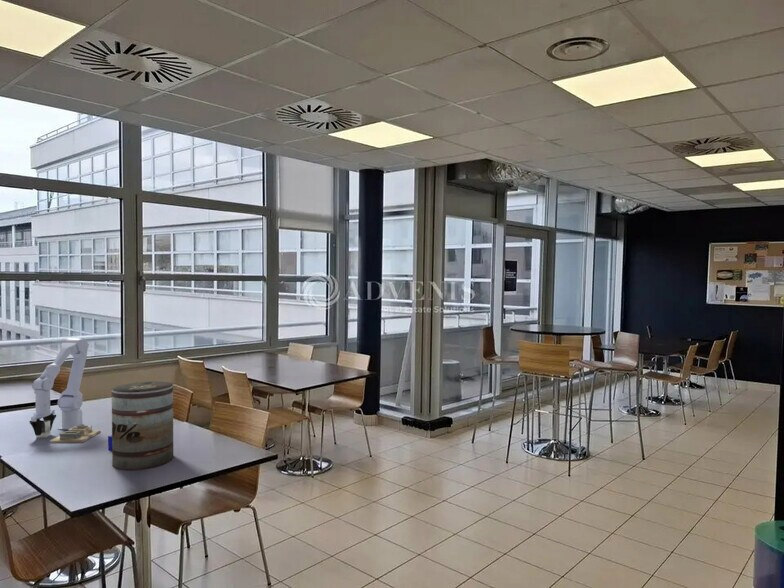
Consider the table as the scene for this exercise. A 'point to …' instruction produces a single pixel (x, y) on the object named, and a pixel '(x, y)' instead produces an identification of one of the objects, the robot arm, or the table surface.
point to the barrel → (142, 425)
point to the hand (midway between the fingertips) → (43, 432)
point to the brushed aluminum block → (45, 429)
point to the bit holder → (76, 435)
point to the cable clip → (110, 442)
